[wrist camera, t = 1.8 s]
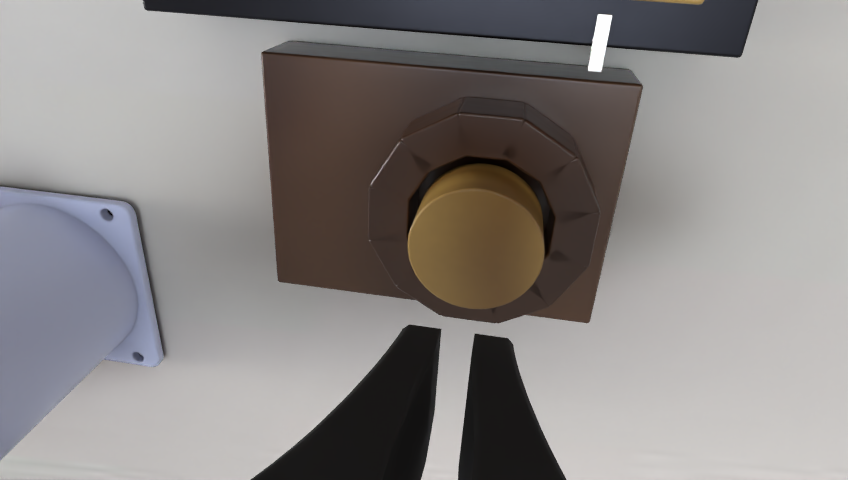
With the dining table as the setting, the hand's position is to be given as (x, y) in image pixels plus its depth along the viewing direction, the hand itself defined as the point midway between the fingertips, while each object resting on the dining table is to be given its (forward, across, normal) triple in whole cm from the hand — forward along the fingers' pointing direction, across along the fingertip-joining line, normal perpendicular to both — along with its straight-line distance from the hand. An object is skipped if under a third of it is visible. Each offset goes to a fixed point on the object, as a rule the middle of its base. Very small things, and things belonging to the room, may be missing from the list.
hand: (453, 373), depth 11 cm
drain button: (+7, 0, 0) cm, 7 cm away
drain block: (+10, +2, 0) cm, 11 cm away
